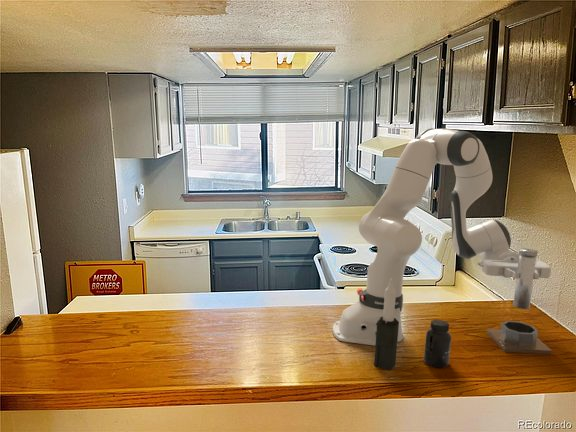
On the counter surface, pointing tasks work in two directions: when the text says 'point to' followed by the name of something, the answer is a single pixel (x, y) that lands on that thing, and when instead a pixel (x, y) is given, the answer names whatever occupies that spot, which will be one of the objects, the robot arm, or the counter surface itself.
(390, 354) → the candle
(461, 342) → the counter surface
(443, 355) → the supplement bottle
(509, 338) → the duct collar
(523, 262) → the grey tall capped cylinder
